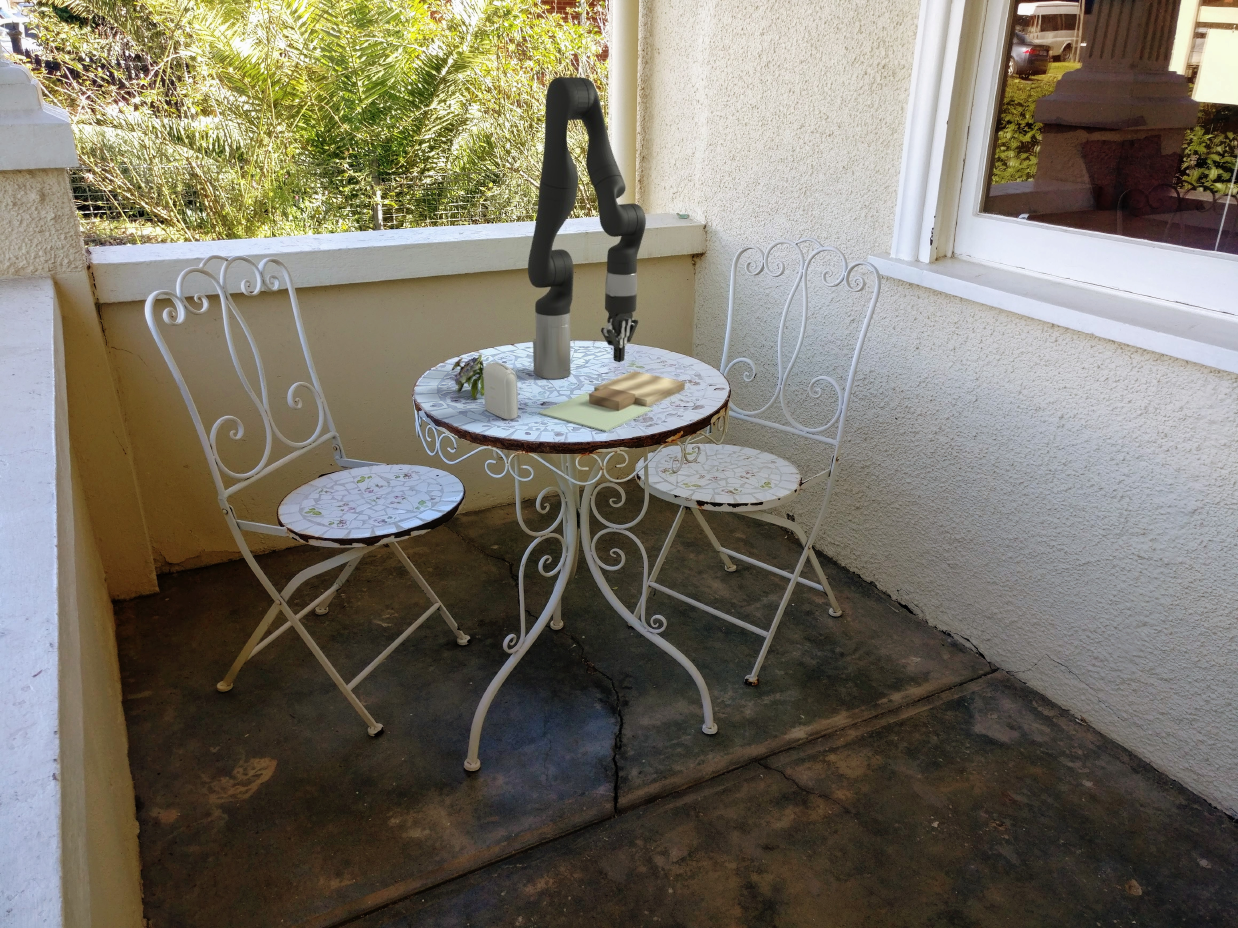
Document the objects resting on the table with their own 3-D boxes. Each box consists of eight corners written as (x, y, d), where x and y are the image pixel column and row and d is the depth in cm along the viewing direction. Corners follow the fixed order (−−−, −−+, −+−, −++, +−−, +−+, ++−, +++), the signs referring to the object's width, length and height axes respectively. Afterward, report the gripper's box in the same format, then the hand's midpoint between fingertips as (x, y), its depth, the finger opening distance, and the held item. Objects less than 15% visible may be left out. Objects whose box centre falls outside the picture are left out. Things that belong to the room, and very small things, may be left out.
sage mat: (538, 413, 211) (538, 412, 211) (586, 393, 226) (586, 392, 226) (606, 432, 201) (606, 430, 201) (652, 409, 215) (652, 408, 215)
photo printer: (482, 409, 213) (480, 360, 208) (497, 406, 216) (495, 357, 211) (505, 421, 206) (503, 370, 201) (520, 418, 208) (519, 367, 204)
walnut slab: (589, 403, 218) (589, 393, 217) (605, 396, 223) (605, 386, 222) (618, 411, 213) (618, 401, 212) (635, 403, 218) (635, 394, 217)
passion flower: (461, 412, 227) (448, 369, 229) (502, 401, 229) (489, 358, 231) (460, 400, 216) (447, 355, 218) (503, 389, 218) (489, 344, 220)
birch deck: (594, 394, 225) (594, 387, 224) (633, 378, 239) (634, 370, 238) (646, 407, 217) (646, 400, 216) (684, 389, 230) (685, 382, 229)
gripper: (624, 284, 216) (621, 352, 224) (591, 293, 207) (590, 364, 214) (649, 288, 213) (646, 358, 220) (618, 298, 203) (615, 370, 210)
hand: (618, 361), depth 217 cm, fingers closed
